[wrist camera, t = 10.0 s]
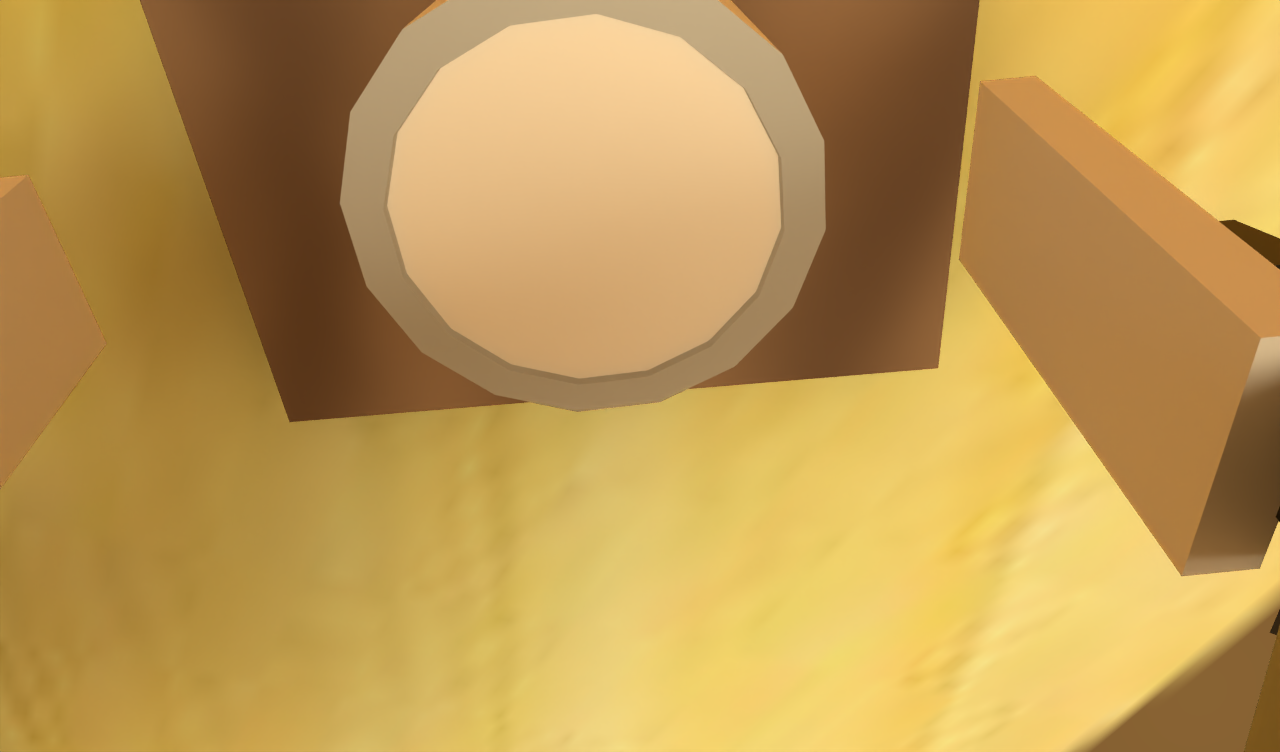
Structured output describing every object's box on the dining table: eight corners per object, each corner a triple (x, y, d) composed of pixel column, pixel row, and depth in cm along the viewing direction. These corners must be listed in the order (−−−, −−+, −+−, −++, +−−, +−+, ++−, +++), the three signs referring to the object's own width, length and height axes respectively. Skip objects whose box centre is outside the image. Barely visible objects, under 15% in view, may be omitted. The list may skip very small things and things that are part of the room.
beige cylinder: (664, 271, 22) (685, 471, 16) (370, 143, 20) (277, 318, 14) (830, -14, 19) (931, 111, 13) (496, -200, 17) (440, -151, 11)
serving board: (304, 387, 25) (289, 422, 24) (43, -392, 16) (-2, -399, 15) (921, 335, 25) (938, 368, 24) (1002, -487, 16) (1035, -504, 15)
